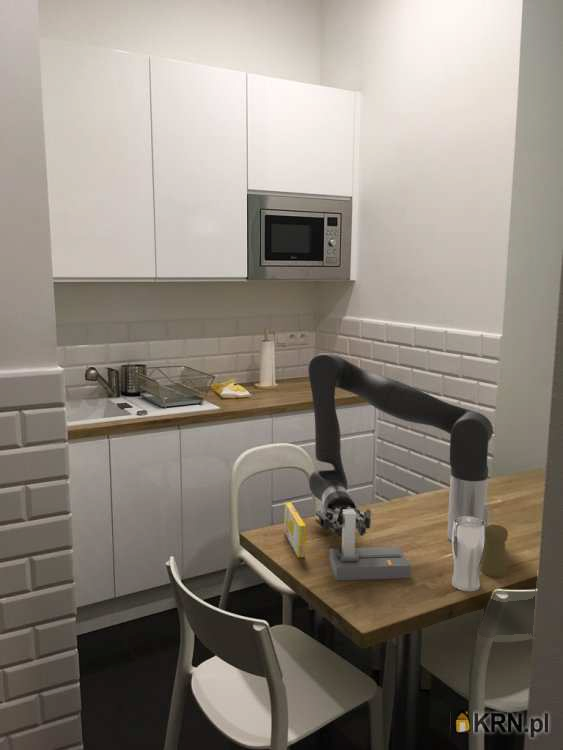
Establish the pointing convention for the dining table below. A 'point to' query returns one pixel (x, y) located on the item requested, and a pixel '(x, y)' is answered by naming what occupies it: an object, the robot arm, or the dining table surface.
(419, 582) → the dining table surface
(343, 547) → the slider tab
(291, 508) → the candy box
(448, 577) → the dining table surface
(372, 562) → the fader console
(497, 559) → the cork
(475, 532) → the beer glass
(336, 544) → the dining table surface
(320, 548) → the dining table surface
